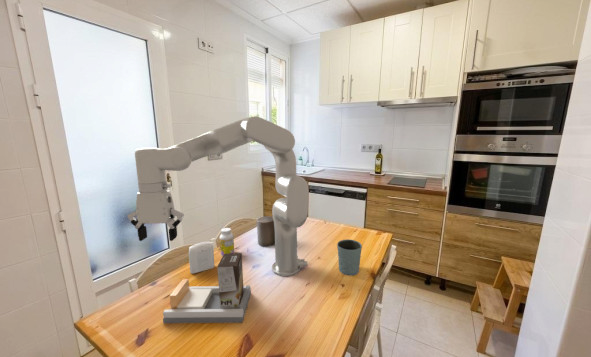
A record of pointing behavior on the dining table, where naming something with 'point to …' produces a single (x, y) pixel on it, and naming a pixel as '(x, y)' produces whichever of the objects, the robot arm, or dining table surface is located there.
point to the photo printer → (201, 257)
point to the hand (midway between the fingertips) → (158, 239)
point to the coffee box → (230, 281)
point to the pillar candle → (266, 231)
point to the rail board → (209, 310)
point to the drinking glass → (349, 256)
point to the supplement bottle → (226, 241)
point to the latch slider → (189, 297)
